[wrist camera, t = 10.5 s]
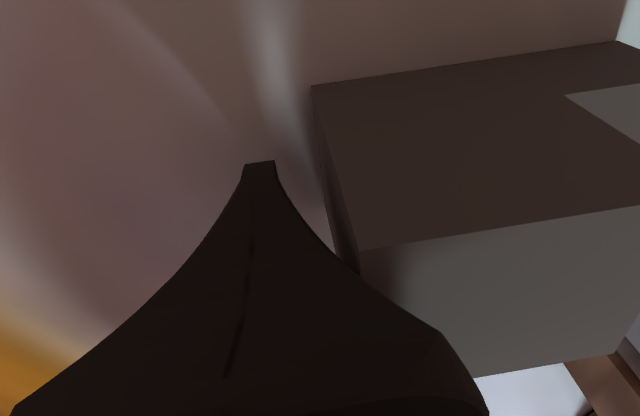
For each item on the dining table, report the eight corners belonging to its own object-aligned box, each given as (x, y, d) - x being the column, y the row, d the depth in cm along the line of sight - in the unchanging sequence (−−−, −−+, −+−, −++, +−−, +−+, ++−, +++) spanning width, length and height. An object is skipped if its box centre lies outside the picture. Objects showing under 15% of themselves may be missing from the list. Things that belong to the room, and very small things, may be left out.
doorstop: (326, 209, 13) (367, 396, 8) (311, 86, 10) (358, 250, 5) (572, 170, 13) (755, 327, 8) (617, 40, 10) (918, 159, 6)
